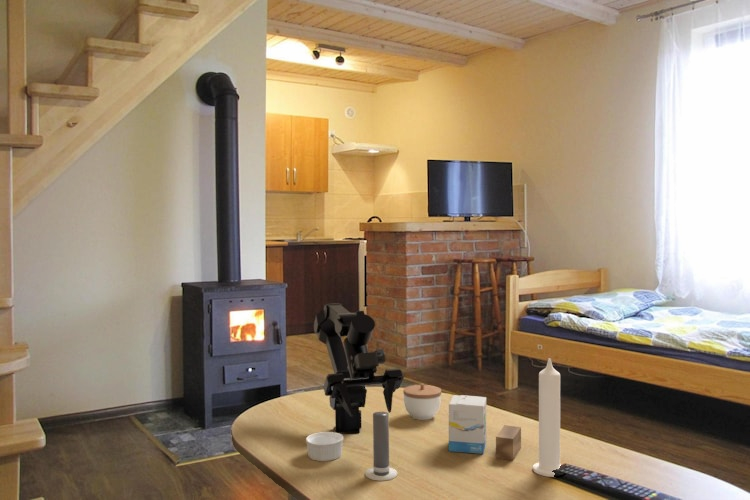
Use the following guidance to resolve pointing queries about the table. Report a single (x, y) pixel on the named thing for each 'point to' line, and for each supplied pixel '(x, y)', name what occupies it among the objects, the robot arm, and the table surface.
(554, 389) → the candle
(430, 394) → the lidded jar
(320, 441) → the ramekin
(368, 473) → the pad
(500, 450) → the brown wooden block
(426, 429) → the table surface
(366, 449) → the table surface
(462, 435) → the ink box
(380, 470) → the grey tapered rod
